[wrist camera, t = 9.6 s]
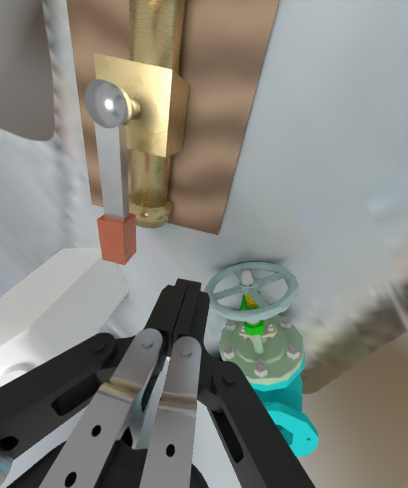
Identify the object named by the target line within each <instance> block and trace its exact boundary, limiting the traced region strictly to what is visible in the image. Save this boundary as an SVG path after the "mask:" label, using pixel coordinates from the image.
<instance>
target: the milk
mask: <svg viewBox="0 0 408 488" xmlns="http://www.w3.org/2000/svg"><path fill="white" fill-rule="evenodd" d="M128 292H129V291H128V289H127V287H126V284H125V282H124V279H123V277H122V275H121V272H120V270H119V267H118V265H117V263H114V262H110V261H105V260H102V252H101V248H75V249H62V250H60V251H59V252H58V253H56V254H55V255H54V256H53V257H51V258H50V259H49V260H47V261H46V262H45V263H44V264H42V265H41V266H40V267H38V268H37V269H36V270H35V271H33V272H32V273H31V274H29V275H28V276H27V277H26V278H24V279H23V280H22V281H20V282H19V283H18V284H17V285H15V286H14V287H13V288H11V289H10V290H9V291H8V292H6V293H5V294H4V295H2V296H1V297H0V387H1V386H3V385H5V384H7V383H9V382H10V381H12V380H14V379H16V378H18V377H19V376H21V375H23V374H25V373H27V372H29V371H30V370H32V369H34V368H36V367H38V366H39V365H41V364H43V363H45V362H47V361H49V360H50V359H52V358H54V357H56V356H58V355H59V354H61V353H63V352H65V351H67V350H69V349H70V348H72V347H74V346H76V345H78V344H79V343H81V342H83V341H85V340H87V339H89V338H90V337H92V336H94V335H96V333H97V332H98V331H99V329H100V328H101V327H102V326H103V324H104V323H105V322H106V320H107V319H108V318H109V316H110V315H111V314H112V313H113V311H114V310H115V309H116V307H117V306H118V305H119V303H120V302H121V301H122V300H123V298H124V297H125V296H126V294H127V293H128Z"/></svg>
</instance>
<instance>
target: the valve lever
mask: <svg viewBox="0 0 408 488" xmlns="http://www.w3.org/2000/svg"><path fill="white" fill-rule="evenodd" d="M85 104H86V108H87V111H88V113H89V115H90V116H91V118H92V119H93V120H94V124H95V133H96V142H97V151H98V160H99V169H100V178H101V187H102V196H103V205H104V214H105V215H103V216H102V217H100V218H98V219H97V223H98V230H99V238H100V245H101V252H102V260H105V261H110V262H114V263H118V264H122V265H125V264H126V263H127V262H128V261H129V260H130V258H131V257H132V256H133V255H134V254H135V252H136V214H132V213H129V193H128V165H127V138H126V125H127V124H128V123H129V121H130V119H131V116H132V106H131V102H130V99H129V97H128V95H127V94H126V92H125V91H124V90H123V89H122V88H121V87H120V86H118V85H116V84H114V83H111V82H108V81H105V80H102V79H96V80H93V81H92V82H90V83H89V85H88V86H87V88H86V91H85Z"/></svg>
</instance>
